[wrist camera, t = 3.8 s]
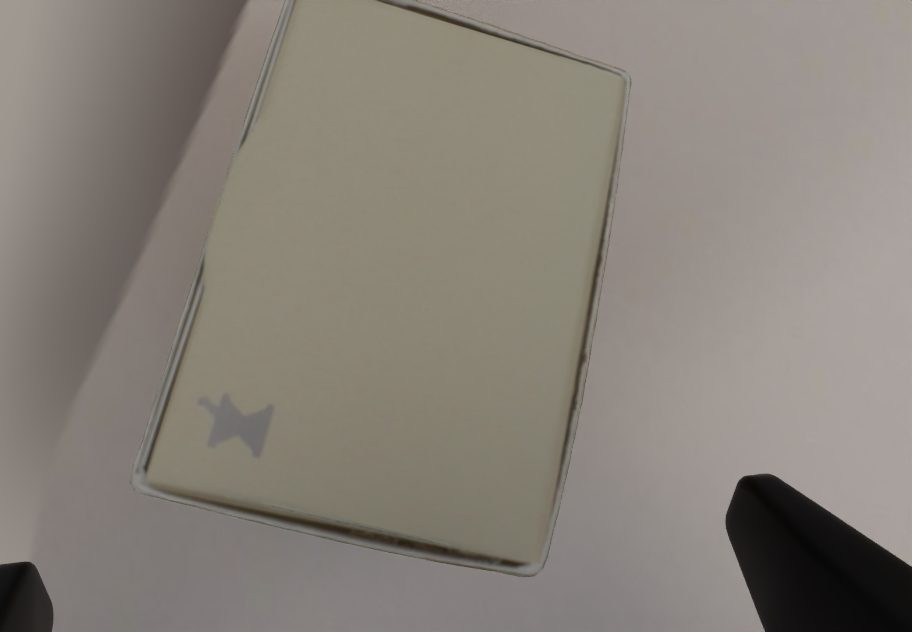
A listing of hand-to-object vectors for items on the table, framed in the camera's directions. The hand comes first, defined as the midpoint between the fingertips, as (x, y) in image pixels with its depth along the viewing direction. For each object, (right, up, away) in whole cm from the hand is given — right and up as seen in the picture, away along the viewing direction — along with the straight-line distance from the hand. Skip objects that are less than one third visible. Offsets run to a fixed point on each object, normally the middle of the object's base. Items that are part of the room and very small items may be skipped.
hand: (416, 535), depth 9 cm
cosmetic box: (-2, +1, +10) cm, 11 cm away
